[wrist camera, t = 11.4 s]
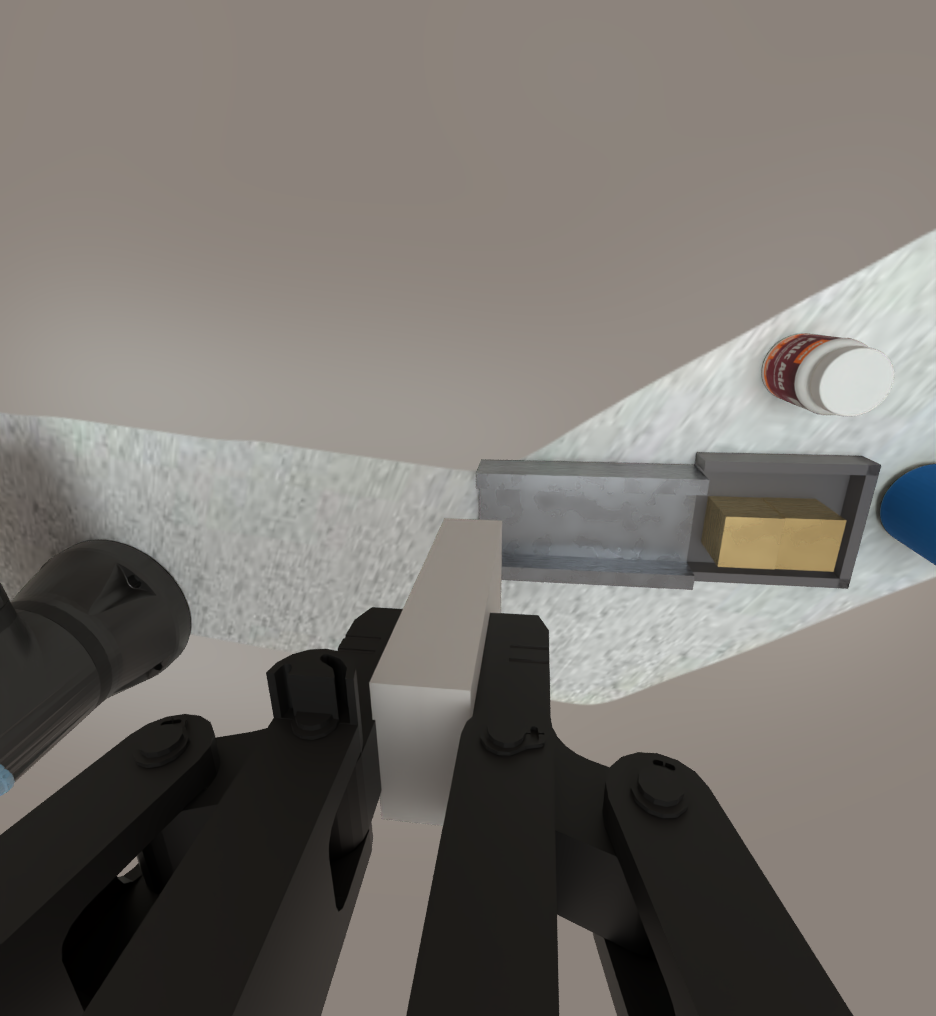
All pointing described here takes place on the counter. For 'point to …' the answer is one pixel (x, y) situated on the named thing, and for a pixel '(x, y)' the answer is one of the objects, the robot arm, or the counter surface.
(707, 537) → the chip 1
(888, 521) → the beverage can
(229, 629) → the counter surface
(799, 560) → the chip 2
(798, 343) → the pill bottle
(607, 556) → the slot rail
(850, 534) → the tray
